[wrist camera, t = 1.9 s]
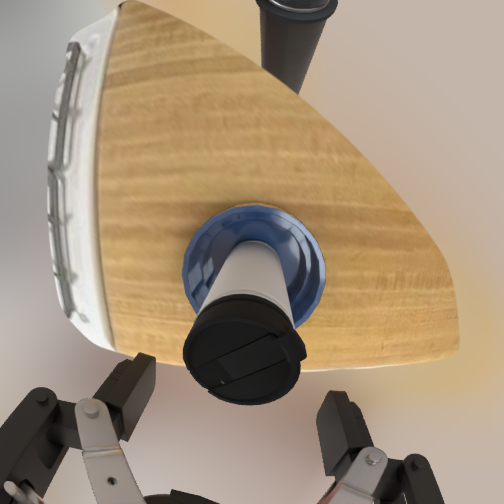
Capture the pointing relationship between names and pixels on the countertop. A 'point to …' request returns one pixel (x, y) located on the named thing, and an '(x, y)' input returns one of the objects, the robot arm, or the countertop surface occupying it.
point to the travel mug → (246, 330)
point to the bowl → (266, 229)
